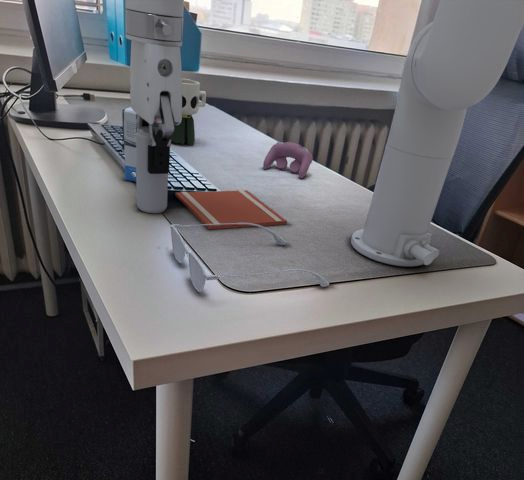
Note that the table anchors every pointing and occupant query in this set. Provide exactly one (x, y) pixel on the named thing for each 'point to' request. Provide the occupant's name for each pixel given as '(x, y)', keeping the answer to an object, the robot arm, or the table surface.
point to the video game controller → (293, 151)
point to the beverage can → (148, 177)
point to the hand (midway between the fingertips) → (152, 166)
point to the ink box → (130, 142)
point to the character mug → (188, 111)
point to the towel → (229, 209)
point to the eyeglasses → (200, 276)
